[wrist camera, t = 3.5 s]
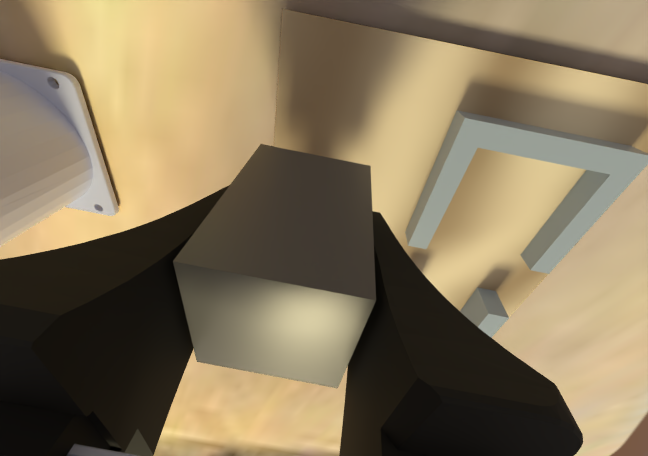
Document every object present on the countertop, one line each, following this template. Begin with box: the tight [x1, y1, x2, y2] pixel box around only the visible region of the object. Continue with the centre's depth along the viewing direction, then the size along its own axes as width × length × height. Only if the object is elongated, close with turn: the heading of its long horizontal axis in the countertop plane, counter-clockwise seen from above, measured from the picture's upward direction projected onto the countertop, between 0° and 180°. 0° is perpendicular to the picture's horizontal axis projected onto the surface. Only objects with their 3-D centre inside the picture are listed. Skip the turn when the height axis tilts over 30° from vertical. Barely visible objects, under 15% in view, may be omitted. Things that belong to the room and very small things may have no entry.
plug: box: [173, 144, 376, 388], centre depth 12 cm, size 4×12×6 cm, turn 171°
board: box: [274, 9, 648, 317], centre depth 16 cm, size 16×18×1 cm
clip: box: [460, 287, 509, 337], centre depth 18 cm, size 6×2×2 cm, turn 81°
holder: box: [405, 110, 648, 274], centre depth 14 cm, size 8×7×1 cm
